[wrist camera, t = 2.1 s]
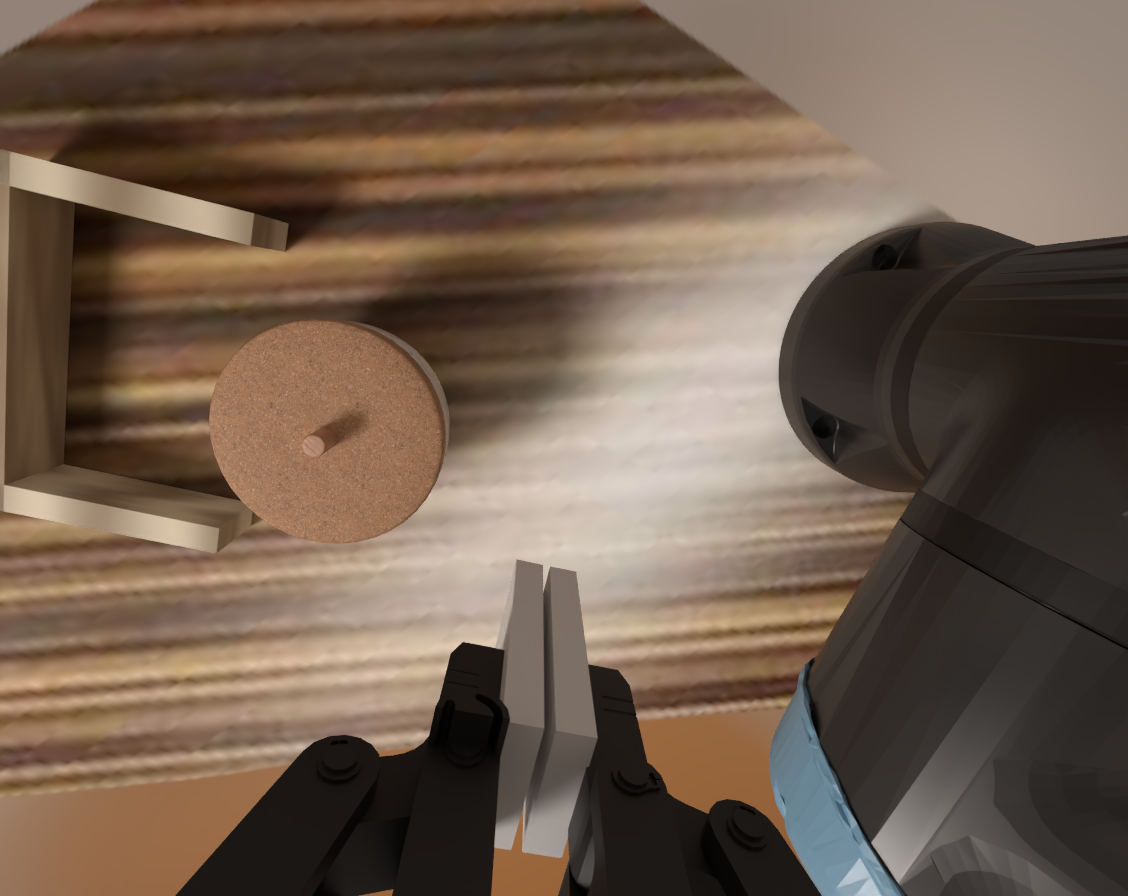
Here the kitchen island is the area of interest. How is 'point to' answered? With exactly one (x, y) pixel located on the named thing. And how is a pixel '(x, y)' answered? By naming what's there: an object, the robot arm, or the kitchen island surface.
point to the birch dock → (41, 345)
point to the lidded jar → (329, 429)
